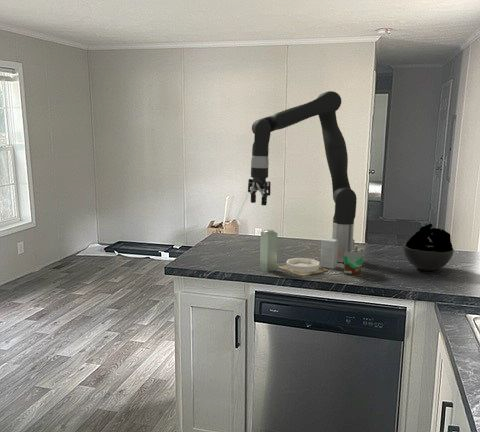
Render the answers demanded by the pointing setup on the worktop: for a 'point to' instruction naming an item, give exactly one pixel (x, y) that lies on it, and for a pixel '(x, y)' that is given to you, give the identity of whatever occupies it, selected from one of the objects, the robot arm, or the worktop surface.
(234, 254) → the worktop surface
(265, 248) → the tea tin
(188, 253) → the worktop surface
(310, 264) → the bowl
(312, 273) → the board
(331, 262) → the skincare box
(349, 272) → the food container
